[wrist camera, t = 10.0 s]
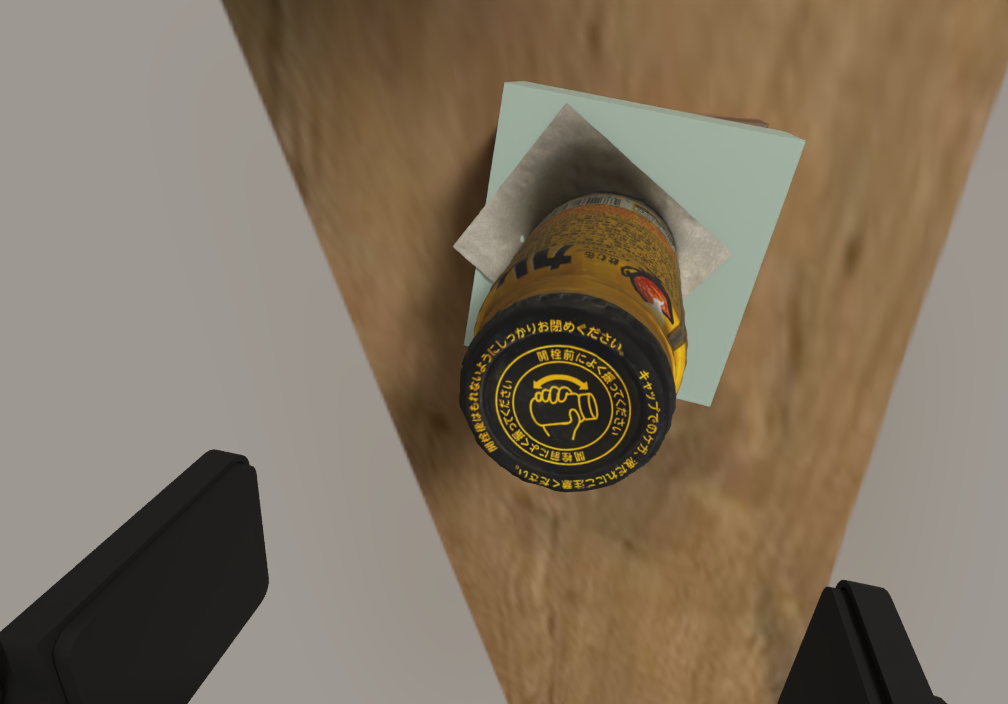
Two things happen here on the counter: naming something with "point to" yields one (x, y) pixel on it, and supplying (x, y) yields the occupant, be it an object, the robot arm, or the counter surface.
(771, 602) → the counter surface
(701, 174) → the top block
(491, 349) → the condiment
